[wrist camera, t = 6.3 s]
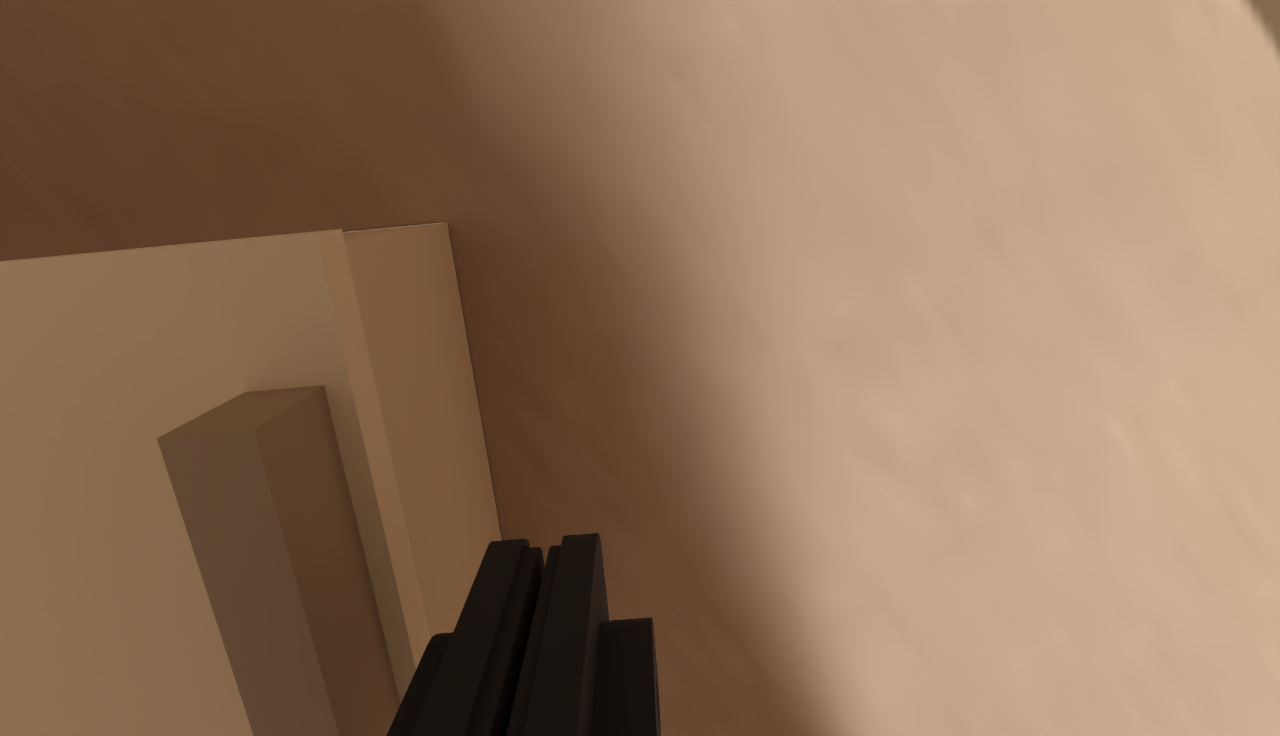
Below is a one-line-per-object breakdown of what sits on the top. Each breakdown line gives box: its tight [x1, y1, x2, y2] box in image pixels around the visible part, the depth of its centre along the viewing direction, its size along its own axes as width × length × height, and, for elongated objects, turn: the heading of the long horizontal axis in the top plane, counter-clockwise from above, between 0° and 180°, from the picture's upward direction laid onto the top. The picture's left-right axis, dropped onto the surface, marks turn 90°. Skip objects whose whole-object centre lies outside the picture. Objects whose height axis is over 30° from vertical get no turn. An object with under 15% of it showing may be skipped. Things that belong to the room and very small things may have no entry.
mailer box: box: [342, 222, 502, 638], centre depth 14 cm, size 16×12×6 cm
